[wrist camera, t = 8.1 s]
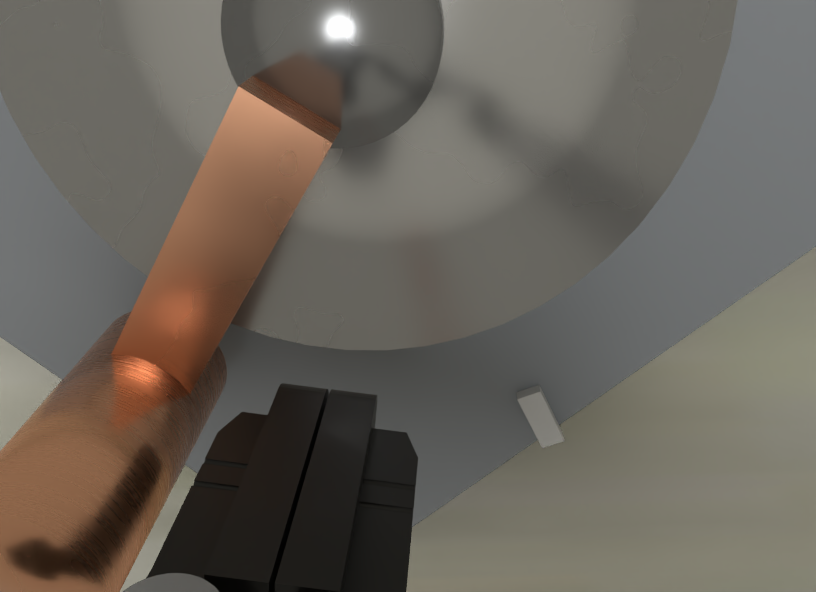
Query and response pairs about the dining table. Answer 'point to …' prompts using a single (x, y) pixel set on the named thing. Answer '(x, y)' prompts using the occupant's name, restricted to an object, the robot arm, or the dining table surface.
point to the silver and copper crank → (316, 202)
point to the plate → (514, 340)
